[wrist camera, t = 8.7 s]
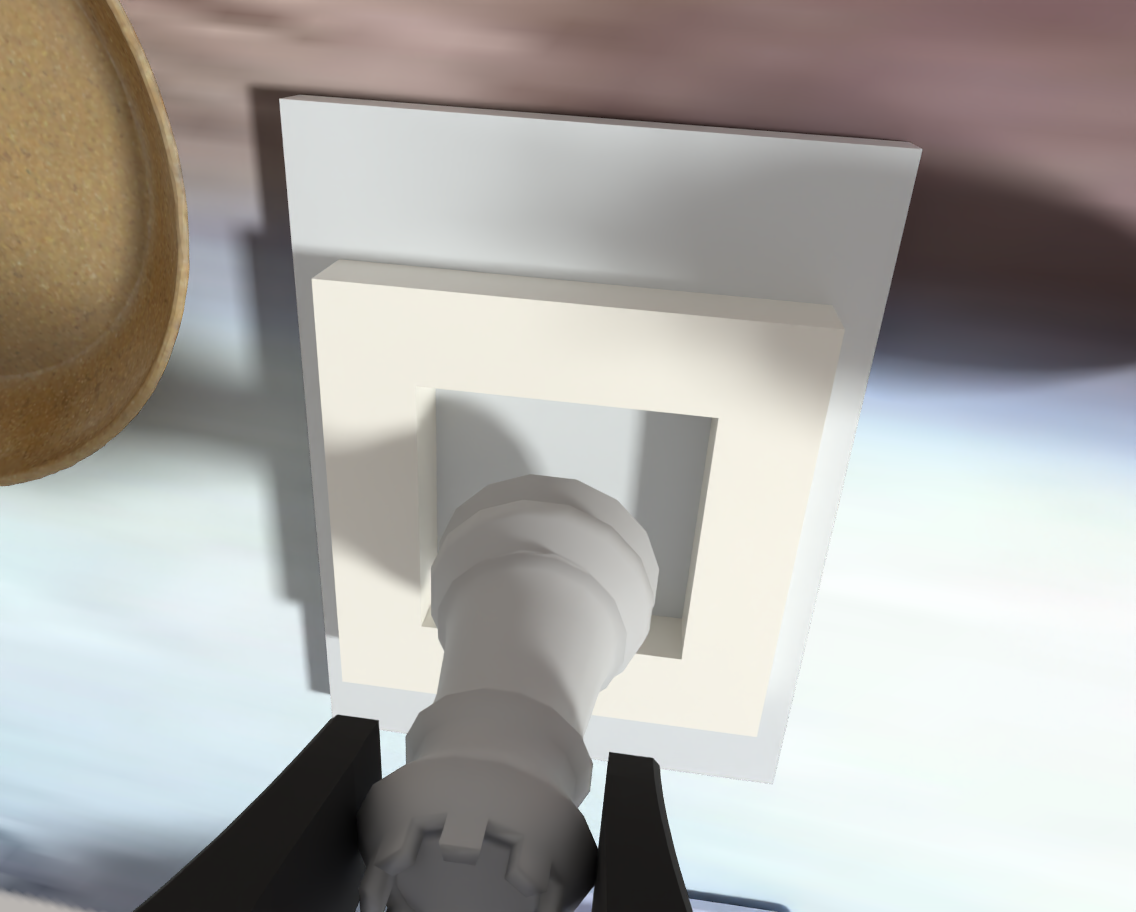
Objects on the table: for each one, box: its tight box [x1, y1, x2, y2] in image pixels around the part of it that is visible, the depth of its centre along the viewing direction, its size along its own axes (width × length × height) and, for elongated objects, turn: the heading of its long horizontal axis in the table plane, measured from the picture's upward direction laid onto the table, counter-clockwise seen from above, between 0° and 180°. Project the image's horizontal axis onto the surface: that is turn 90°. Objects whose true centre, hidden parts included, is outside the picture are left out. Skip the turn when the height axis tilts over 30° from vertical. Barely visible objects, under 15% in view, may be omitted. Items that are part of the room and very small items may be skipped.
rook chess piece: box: [356, 474, 659, 912], centre depth 14 cm, size 4×4×8 cm
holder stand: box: [279, 95, 922, 784], centre depth 20 cm, size 16×12×2 cm
